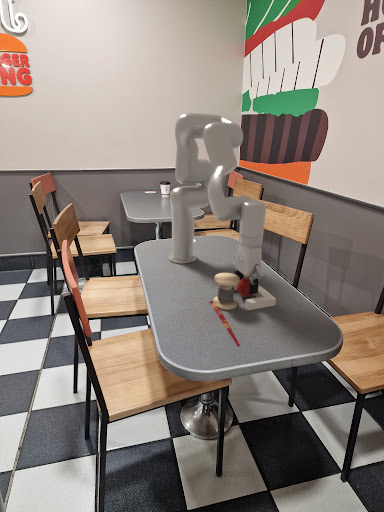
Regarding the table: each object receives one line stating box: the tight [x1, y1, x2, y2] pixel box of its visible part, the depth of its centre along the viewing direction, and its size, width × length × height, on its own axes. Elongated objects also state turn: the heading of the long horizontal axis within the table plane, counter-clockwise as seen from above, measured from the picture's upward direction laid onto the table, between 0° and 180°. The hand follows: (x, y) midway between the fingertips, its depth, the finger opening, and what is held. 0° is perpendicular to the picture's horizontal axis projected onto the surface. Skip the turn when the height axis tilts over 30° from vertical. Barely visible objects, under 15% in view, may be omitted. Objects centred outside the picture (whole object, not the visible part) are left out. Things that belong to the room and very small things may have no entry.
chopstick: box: [209, 300, 241, 347], centre depth 95 cm, size 2×24×1 cm, turn 14°
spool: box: [212, 272, 240, 311], centre depth 103 cm, size 8×8×10 cm
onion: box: [236, 276, 251, 298], centre depth 108 cm, size 6×6×8 cm
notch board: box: [233, 284, 277, 311], centre depth 110 cm, size 16×10×2 cm, turn 20°
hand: (245, 287), depth 108 cm, fingers open, 9 cm apart
